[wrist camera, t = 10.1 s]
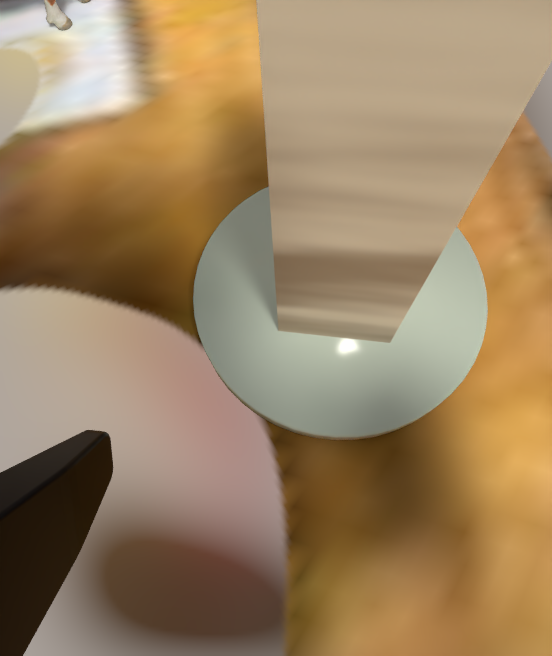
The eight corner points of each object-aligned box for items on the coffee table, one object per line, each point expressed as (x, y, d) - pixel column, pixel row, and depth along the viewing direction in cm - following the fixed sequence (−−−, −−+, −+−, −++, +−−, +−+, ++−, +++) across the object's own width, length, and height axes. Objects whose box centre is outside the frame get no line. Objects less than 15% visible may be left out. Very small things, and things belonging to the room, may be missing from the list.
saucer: (491, 449, 18) (505, 444, 17) (181, 431, 18) (173, 426, 17) (462, 192, 22) (472, 175, 21) (214, 185, 23) (210, 168, 22)
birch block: (389, 342, 18) (586, -1, 6) (278, 331, 18) (255, -18, 6) (393, 246, 20) (554, -175, 8) (290, 237, 20) (291, -181, 8)
